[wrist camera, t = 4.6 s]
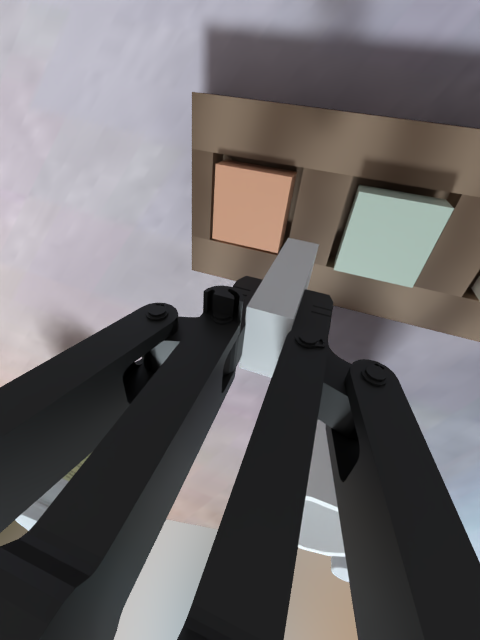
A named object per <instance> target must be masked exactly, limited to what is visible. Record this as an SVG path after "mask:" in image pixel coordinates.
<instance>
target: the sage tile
mask: <svg viewBox="0 0 480 640" xmlns="http://www.w3.org/2000/svg"><path fill="white" fill-rule="evenodd" d="M453 210H454V208H453V207H452V205H451V204H450V203H449V202H448V201H447V200H446V199H441V198H435V197H429V196H423V195H417V194H412V193H406V192H400V191H394V190H389V189H383V188H377V187H371V186H365V185H360V184H359V186H358V189H357V192H356V195H355V198H354V201H353V204H352V208H351V211H350V214H349V217H348V220H347V223H346V226H345V229H344V233H343V236H342V239H341V242H340V245H339V248H338V251H337V254H336V258H335V264H334V270H336V271H340V272H345V273H349V274H353V275H358V276H362V277H367V278H371V279H375V280H380V281H384V282H388V283H393V284H397V285H402V286H406V287H410V288H413V286H414V284H415V282H416V280H417V278H418V276H419V274H420V272H421V271H422V269H423V267H424V265H425V263H426V261H427V259H428V257H429V255H430V253H431V252H432V250H433V248H434V246H435V244H436V242H437V240H438V238H439V236H440V235H441V233H442V231H443V229H444V227H445V225H446V223H447V221H448V219H449V217H450V216H451V214H452V212H453Z"/></svg>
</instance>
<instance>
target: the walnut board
mask: <svg viewBox="0 0 480 640" xmlns="http://www.w3.org/2000/svg"><path fill="white" fill-rule="evenodd" d="M224 160H232V161H237V162H243V163H249V164H255V165H261V166H267V167H272V168H278V169H284V170H290V171H296V172H297V175H296V180H295V185H294V190H293V195H292V200H291V205H290V211H289V216H288V221H287V226H286V231H285V236H284V241H283V244H282V246H281V248H280V250H279V252H280V251H281V249H282V247H283V246H284V244H285V242H286V241H287V239H288V238H292V239H296V240H301V241H306V242H311V243H316V244H319V246H318V250H317V254H316V258H315V262H314V266H313V269H312V273H311V277H310V281H309V285H308V288H307V290H311V291H315V292H319V293H324V294H328V295H330V297H331V299H332V301H333V305H334V306H338V307H342V308H346V309H350V310H354V311H358V312H362V313H366V314H370V315H374V316H378V317H382V318H386V319H390V320H394V321H398V322H402V323H406V324H410V325H414V326H418V327H422V328H426V329H430V330H434V331H438V332H442V333H446V334H450V335H454V336H458V337H462V338H466V339H470V340H474V341H478V342H480V301H479V300H478V298H477V296H476V295H475V293H474V292H473V290H472V289H471V288H472V286H473V285H474V283H475V282H476V280H477V279H478V277H479V276H480V128H472V127H464V126H457V125H449V124H441V123H433V122H426V121H418V120H410V119H402V118H395V117H387V116H379V115H372V114H364V113H356V112H348V111H341V110H333V109H325V108H317V107H310V106H302V105H294V104H286V103H279V102H271V101H263V100H255V99H248V98H240V97H232V96H224V95H217V94H208V93H196V92H192V270H194V271H198V272H202V273H206V274H210V275H214V276H218V277H222V278H226V279H230V280H234V281H237V280H238V279H240V278H242V277H244V276H250V277H254V278H258V279H262V280H263V279H264V277H265V275H266V274H267V272H268V270H269V269H270V267H271V266H272V264H273V262H274V261H275V259H276V257H277V256H278V254H279V252H278V253H275V252H270V251H266V250H261V249H257V248H252V247H248V246H244V245H239V244H235V243H230V242H226V241H221V240H217V239H213V238H212V234H213V212H214V189H215V167H216V164H217V163H219V162H222V161H224ZM359 184H360V185H365V186H371V187H377V188H383V189H389V190H394V191H400V192H406V193H412V194H417V195H423V196H429V197H435V198H441V199H446V200H447V201H448V202H449V203H450V204H451V205H452V207H453V208H454V210H453V212H452V214H451V216H450V217H449V219H448V221H447V223H446V225H445V227H444V229H443V231H442V233H441V235H440V236H439V238H438V240H437V242H436V244H435V246H434V248H433V250H432V252H431V253H430V255H429V257H428V259H427V261H426V263H425V265H424V267H423V269H422V271H421V272H420V274H419V276H418V278H417V280H416V282H415V284H414V286H413V288H410V287H406V286H402V285H397V284H393V283H388V282H384V281H380V280H375V279H371V278H367V277H362V276H358V275H353V274H349V273H345V272H340V271H336V270H334V264H335V258H336V254H337V251H338V248H339V245H340V242H341V239H342V236H343V233H344V229H345V226H346V223H347V220H348V217H349V214H350V211H351V208H352V204H353V201H354V198H355V195H356V192H357V189H358V186H359Z"/></svg>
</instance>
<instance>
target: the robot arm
mask: <svg viewBox="0 0 480 640" xmlns="http://www.w3.org/2000/svg"><path fill="white" fill-rule="evenodd" d="M318 246H319V244H316V243H311V242H306V241H301V240H296V239H292V238H288V239H287V241H286V242H285V244H284V246H283V247H282V249H281V251H280V252H279V254H278V256H277V257H276V259H275V261H274V262H273V264H272V266H271V267H270V269H269V270H268V272H267V274H266V275H265V277H264V279H263V280H262V279H258V278H254V277H250V276H244V277H242V278H240V279H238V280H237V281H236V283H235V284H234V285H233V287H228V286H214V287H210V288H208V289H206V290H205V291H204V305H203V314H202V315H201V316H200V317H178V312H177V310H176V308H174V307H173V306H172V305H169V304H166V303H152V304H148V305H146V306H143V307H141V308H140V309H138V310H136V311H134V312H132V313H131V314H129V315H127V316H125V317H124V318H122V319H120V320H118V321H117V322H115V323H113V324H111V325H110V326H108V327H106V328H104V329H102V330H101V331H99V332H97V333H95V334H94V335H92V336H90V337H88V338H87V339H85V340H83V341H81V342H80V343H78V344H76V345H74V346H72V347H71V348H69V349H67V350H65V351H64V352H62V353H60V354H58V355H57V356H55V357H53V358H51V359H50V360H48V361H46V362H44V363H42V364H41V365H39V366H37V367H35V368H34V369H32V370H30V371H28V372H27V373H25V374H23V375H21V376H20V377H18V378H16V379H14V380H12V381H11V382H9V383H7V384H5V385H4V386H2V387H0V532H2V531H3V530H4V529H5V528H6V527H7V526H8V525H10V524H11V523H12V522H13V521H14V520H15V519H16V518H18V517H19V516H20V515H21V514H22V513H23V512H24V511H26V510H27V509H28V508H29V507H30V506H31V505H32V504H34V503H35V502H36V501H37V500H38V499H39V498H40V497H42V496H43V495H44V494H45V493H46V492H47V491H48V490H49V489H51V488H52V487H53V486H54V485H55V484H56V483H57V482H59V481H60V480H61V479H62V478H63V477H64V476H65V475H67V474H68V473H69V472H70V471H71V470H72V469H73V468H75V467H76V466H77V465H78V464H79V463H80V462H81V461H82V460H84V459H85V458H86V457H87V456H88V455H89V454H90V453H91V454H90V455H89V457H88V458H87V459H86V461H85V462H84V463H83V464H82V466H81V467H80V468H79V469H78V471H77V472H76V473H75V474H74V476H73V477H72V478H71V479H70V481H69V482H68V483H67V484H66V486H65V487H64V488H63V489H62V491H61V492H60V493H59V494H58V496H57V497H56V498H55V499H54V501H53V502H52V503H51V504H50V506H49V507H48V508H47V510H46V511H45V512H44V513H43V515H42V516H41V517H40V518H39V520H38V521H37V522H36V523H35V525H34V526H33V527H32V528H31V529H30V530H29V531H28V532H27V533H26V534H25V535H23V536H22V537H21V538H19V539H18V540H15V541H13V542H10V543H8V544H6V545H3V546H0V640H113V639H114V637H115V634H116V631H117V627H118V623H119V619H120V616H121V613H122V610H123V607H124V605H125V603H126V601H127V599H128V597H129V594H130V592H131V590H132V588H133V586H134V584H135V582H136V580H137V578H138V576H139V574H140V572H141V570H142V568H143V565H144V564H145V562H146V559H147V557H148V555H149V553H150V551H151V549H152V547H153V545H154V543H155V541H156V539H157V537H158V535H159V533H160V531H161V528H162V526H163V524H164V522H165V520H166V518H167V516H168V514H169V512H170V510H171V508H172V506H173V504H174V502H175V500H176V497H177V495H178V493H179V491H180V489H181V487H182V485H183V483H184V481H185V479H186V477H187V475H188V473H189V471H190V469H191V466H192V464H193V462H194V460H195V458H196V456H197V454H198V452H199V450H200V448H201V446H202V444H203V442H204V440H205V438H206V435H207V433H208V431H209V429H210V427H211V425H212V423H213V421H214V419H215V417H216V415H217V413H218V411H219V409H220V407H221V404H222V402H223V400H224V398H225V396H226V394H227V392H228V390H229V388H230V386H231V384H232V382H233V380H234V377H235V371H236V366H237V364H238V362H239V360H240V364H239V368H242V369H245V370H248V371H251V372H255V373H258V374H261V375H264V376H267V377H270V378H271V381H270V384H269V387H268V390H267V393H266V396H265V398H264V401H263V404H262V407H261V410H260V413H259V415H258V418H257V421H256V424H255V427H254V430H253V432H252V435H251V438H250V441H249V444H248V447H247V449H246V452H245V455H244V458H243V461H242V464H241V466H240V469H239V472H238V475H237V478H236V481H235V484H234V486H233V489H232V492H231V495H230V498H229V501H228V503H227V506H226V509H225V512H224V515H223V518H222V520H221V523H220V526H219V529H218V532H217V535H216V538H215V540H214V543H213V546H212V549H211V552H210V554H209V557H208V560H207V563H206V566H205V569H204V572H203V574H202V578H201V580H200V583H199V586H198V589H197V591H196V594H195V597H194V600H193V603H192V606H191V608H190V611H189V614H188V617H187V619H186V621H185V624H184V626H183V628H182V631H181V633H180V635H179V637H178V639H177V640H283V639H284V633H285V626H286V620H287V614H288V607H289V601H290V594H291V588H292V581H293V575H294V569H295V562H296V556H297V549H298V543H299V536H300V530H301V523H302V517H303V511H304V504H305V498H306V491H307V485H308V478H309V472H310V466H311V459H312V453H313V446H314V440H315V433H316V427H317V420H318V419H319V420H320V421H322V422H323V423H325V424H326V428H325V429H326V435H327V441H328V448H329V454H330V461H331V467H332V474H333V480H334V487H335V493H336V499H337V506H338V512H339V519H340V525H341V532H342V538H343V545H344V551H345V557H346V564H347V570H348V577H349V583H350V589H351V596H352V603H353V609H354V615H355V622H356V628H357V635H358V640H480V562H479V560H478V558H477V556H476V553H475V551H474V549H473V547H472V544H471V542H470V540H469V538H468V535H467V533H466V531H465V529H464V526H463V524H462V522H461V520H460V517H459V515H458V513H457V511H456V508H455V506H454V504H453V502H452V499H451V497H450V495H449V493H448V490H447V488H446V486H445V484H444V481H443V479H442V477H441V475H440V472H439V470H438V468H437V466H436V463H435V461H434V459H433V457H432V454H431V452H430V450H429V448H428V445H427V443H426V441H425V439H424V436H423V434H422V432H421V430H420V427H419V425H418V423H417V421H416V418H415V416H414V414H413V412H412V409H411V407H410V405H409V403H408V400H407V398H406V396H405V394H404V391H403V389H402V387H401V385H400V382H399V380H398V378H397V377H396V376H395V374H394V373H393V372H392V371H391V370H390V369H389V368H387V367H386V366H384V365H382V364H380V363H378V362H376V361H372V360H358V361H355V362H353V364H350V363H348V362H346V361H344V360H342V359H341V358H339V357H338V356H337V355H335V354H334V353H333V352H332V350H331V349H330V348H329V345H328V334H329V328H330V322H331V315H332V309H333V301H332V299H331V297H330V295H328V294H324V293H319V292H315V291H311V290H307V288H308V285H309V281H310V277H311V273H312V269H313V266H314V262H315V258H316V254H317V250H318ZM140 357H142V359H141V360H139V361H137V362H135V361H136V360H138V359H139V358H140Z"/></svg>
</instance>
